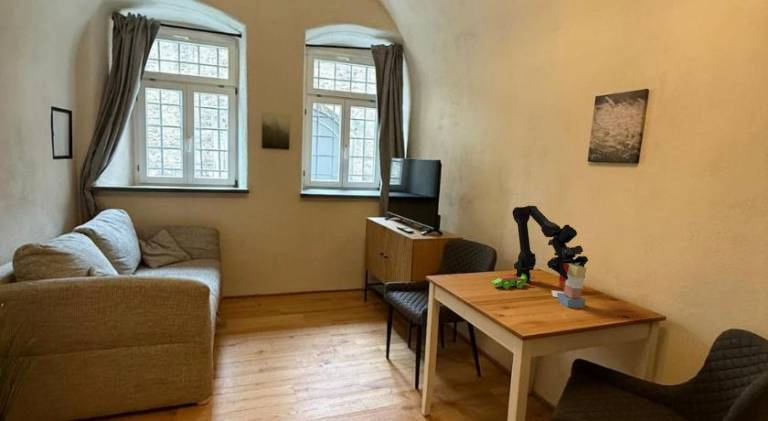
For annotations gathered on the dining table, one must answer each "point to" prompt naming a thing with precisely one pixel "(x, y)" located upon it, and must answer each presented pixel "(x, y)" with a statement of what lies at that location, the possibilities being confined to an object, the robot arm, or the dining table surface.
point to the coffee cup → (562, 279)
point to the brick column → (574, 281)
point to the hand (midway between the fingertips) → (575, 278)
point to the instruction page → (556, 293)
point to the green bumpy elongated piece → (510, 281)
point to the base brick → (571, 301)
